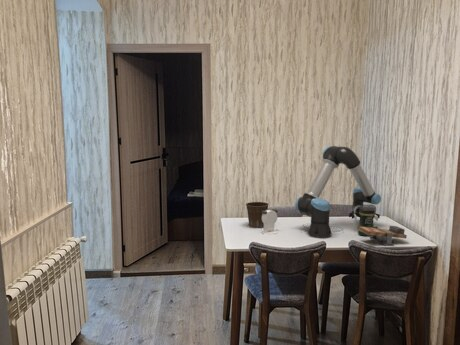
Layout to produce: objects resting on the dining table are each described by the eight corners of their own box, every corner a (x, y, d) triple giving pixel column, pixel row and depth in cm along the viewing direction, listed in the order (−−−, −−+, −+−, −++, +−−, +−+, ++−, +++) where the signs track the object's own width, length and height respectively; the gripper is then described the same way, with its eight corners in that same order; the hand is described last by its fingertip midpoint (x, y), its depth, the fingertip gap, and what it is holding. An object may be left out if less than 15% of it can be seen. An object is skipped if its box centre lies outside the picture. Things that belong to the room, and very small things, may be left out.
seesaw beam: (368, 235, 229) (369, 226, 229) (357, 229, 241) (358, 221, 241) (406, 238, 235) (407, 230, 234) (394, 233, 247) (395, 225, 246)
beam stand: (384, 246, 230) (385, 233, 229) (369, 238, 246) (370, 226, 245) (393, 245, 231) (394, 233, 230) (378, 238, 247) (378, 226, 246)
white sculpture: (270, 228, 270) (270, 207, 268) (281, 232, 261) (282, 210, 259) (257, 231, 262) (257, 209, 261) (268, 235, 253) (268, 212, 252)
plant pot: (248, 229, 268) (248, 206, 266) (243, 223, 284) (243, 202, 282) (271, 228, 271) (271, 205, 269) (264, 222, 287) (264, 201, 285)
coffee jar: (360, 236, 250) (361, 208, 248) (356, 233, 258) (357, 206, 256) (375, 236, 250) (376, 208, 248) (370, 233, 258) (372, 206, 256)
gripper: (378, 217, 276) (386, 224, 255) (342, 216, 279) (347, 223, 258) (378, 207, 275) (386, 213, 254) (342, 205, 278) (347, 212, 257)
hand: (366, 218), depth 256 cm, fingers open, 13 cm apart
